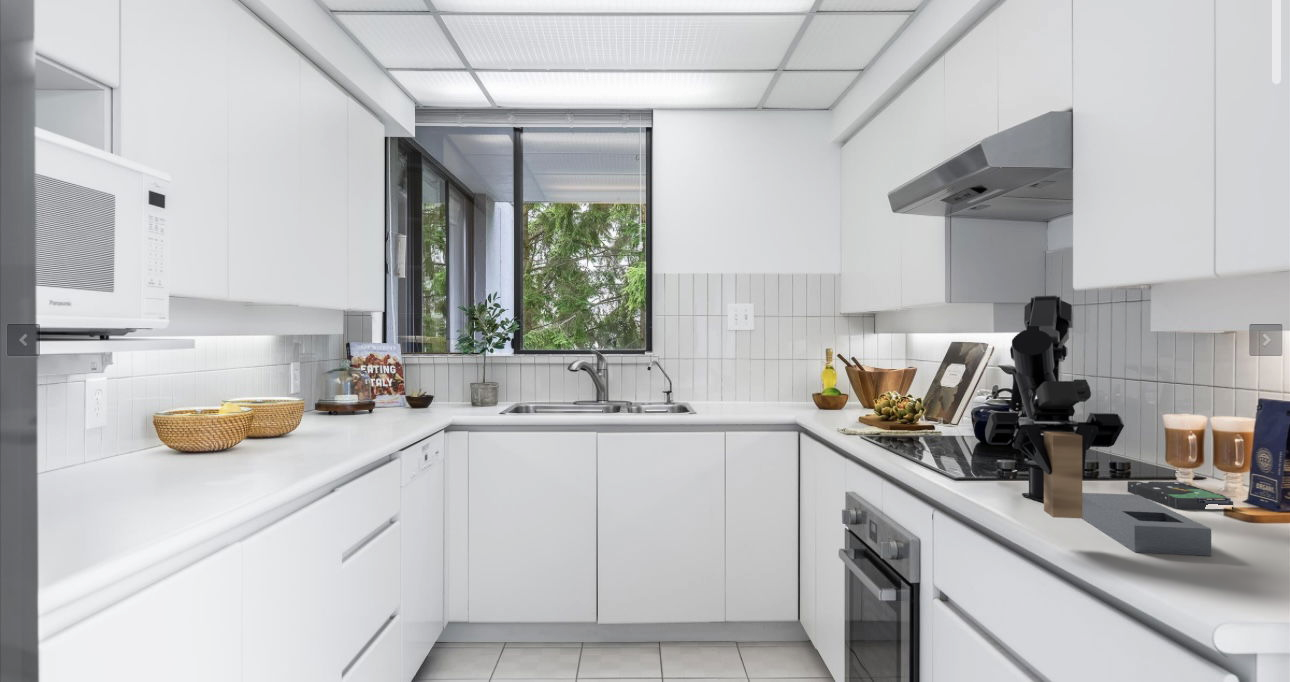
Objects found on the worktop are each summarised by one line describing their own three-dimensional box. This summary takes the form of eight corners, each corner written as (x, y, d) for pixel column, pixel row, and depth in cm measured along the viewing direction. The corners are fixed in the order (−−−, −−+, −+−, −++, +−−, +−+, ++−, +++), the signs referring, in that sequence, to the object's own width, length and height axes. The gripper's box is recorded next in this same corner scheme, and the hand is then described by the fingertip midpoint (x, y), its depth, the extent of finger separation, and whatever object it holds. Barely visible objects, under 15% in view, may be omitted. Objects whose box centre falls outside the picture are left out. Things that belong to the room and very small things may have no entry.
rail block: (1075, 514, 125) (1075, 492, 125) (1138, 517, 123) (1138, 494, 123) (1134, 552, 104) (1134, 525, 104) (1211, 556, 102) (1211, 528, 102)
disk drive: (1126, 494, 143) (1176, 512, 128) (1125, 481, 143) (1176, 497, 128) (1178, 494, 142) (1235, 512, 128) (1178, 481, 142) (1235, 497, 128)
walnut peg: (1043, 510, 109) (1043, 431, 109) (1072, 511, 108) (1071, 432, 108) (1053, 517, 105) (1052, 435, 105) (1082, 518, 104) (1082, 435, 104)
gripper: (989, 362, 112) (1010, 440, 102) (1118, 361, 108) (1154, 443, 98) (977, 405, 120) (995, 482, 110) (1096, 406, 116) (1128, 486, 106)
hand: (1066, 473), depth 105 cm, fingers closed on walnut peg, 4 cm apart
